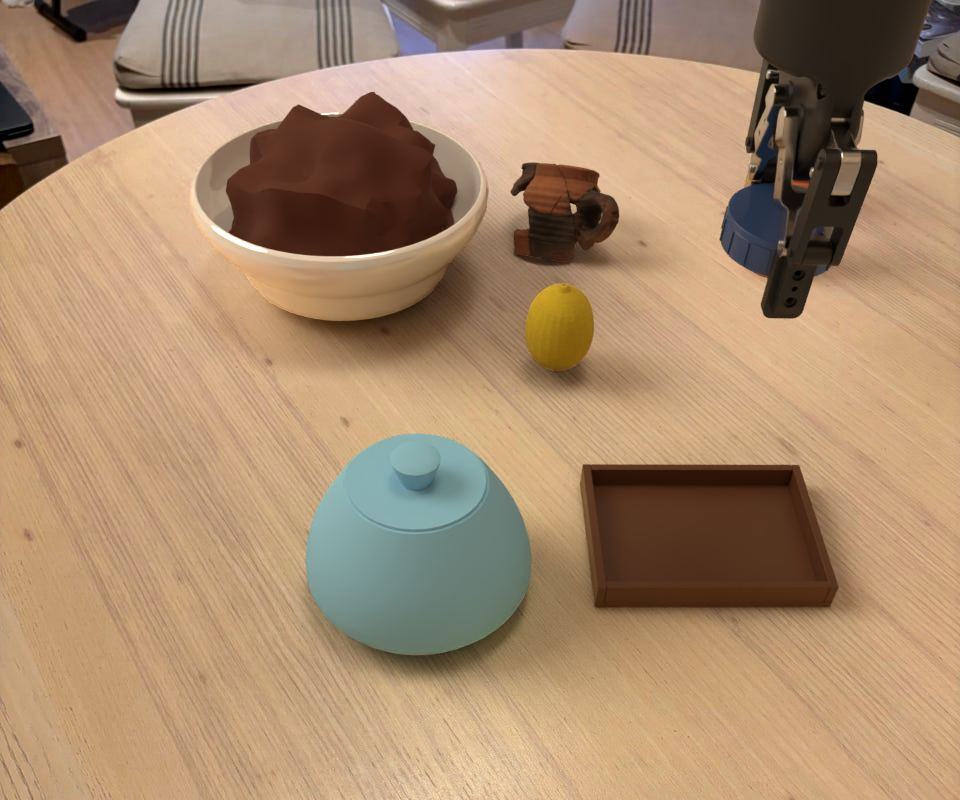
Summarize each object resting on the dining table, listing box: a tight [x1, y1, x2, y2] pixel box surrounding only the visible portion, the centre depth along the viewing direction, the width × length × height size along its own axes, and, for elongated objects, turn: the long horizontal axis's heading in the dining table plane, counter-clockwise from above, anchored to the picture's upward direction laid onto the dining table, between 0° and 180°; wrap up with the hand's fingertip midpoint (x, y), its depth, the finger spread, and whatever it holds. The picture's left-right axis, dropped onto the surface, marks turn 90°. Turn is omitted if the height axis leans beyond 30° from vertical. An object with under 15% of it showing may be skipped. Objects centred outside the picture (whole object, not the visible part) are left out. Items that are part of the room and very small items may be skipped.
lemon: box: [524, 282, 595, 372], centre depth 82 cm, size 6×6×8 cm
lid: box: [719, 183, 834, 277], centre depth 56 cm, size 6×6×2 cm
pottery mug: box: [509, 161, 620, 263], centre depth 96 cm, size 12×10×8 cm
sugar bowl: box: [305, 433, 532, 656], centre depth 66 cm, size 15×15×12 cm
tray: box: [579, 463, 840, 608], centre depth 72 cm, size 16×12×2 cm
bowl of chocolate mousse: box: [189, 91, 489, 322], centre depth 87 cm, size 25×25×15 cm
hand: (767, 278), depth 58 cm, fingers closed on lid, 6 cm apart
